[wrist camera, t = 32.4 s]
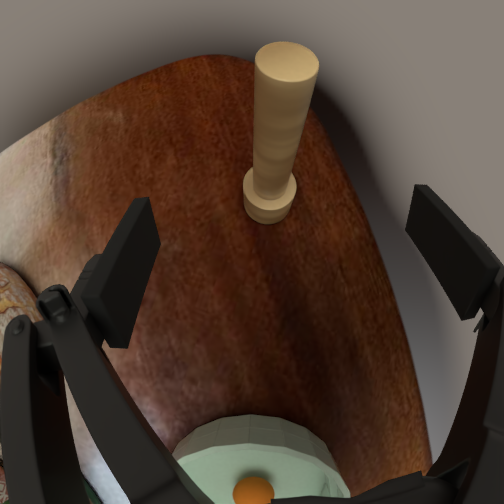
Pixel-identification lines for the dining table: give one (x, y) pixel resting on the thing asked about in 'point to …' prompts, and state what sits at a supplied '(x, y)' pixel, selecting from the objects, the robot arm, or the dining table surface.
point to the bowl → (259, 458)
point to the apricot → (253, 491)
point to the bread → (14, 301)
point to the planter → (3, 487)
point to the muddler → (278, 127)
